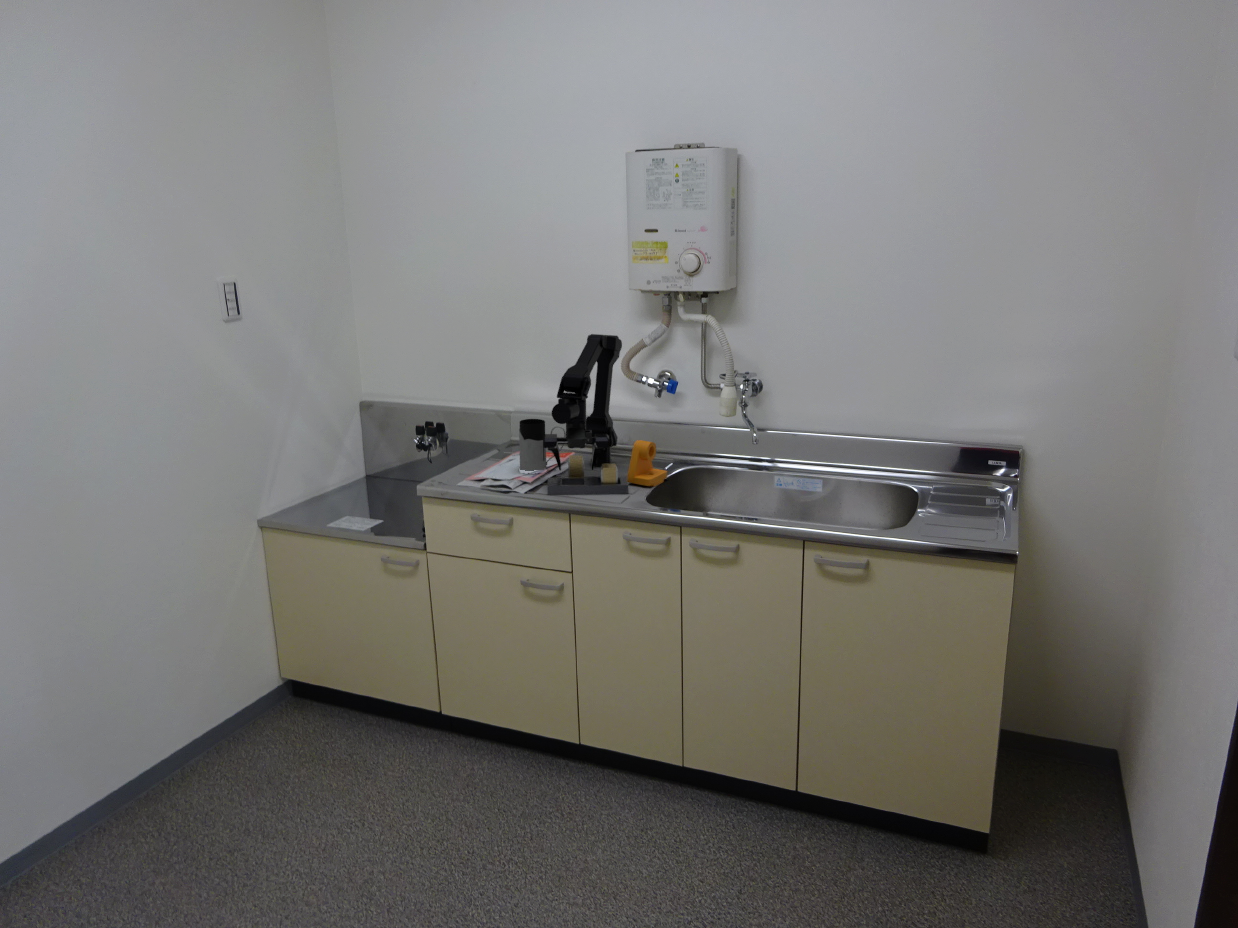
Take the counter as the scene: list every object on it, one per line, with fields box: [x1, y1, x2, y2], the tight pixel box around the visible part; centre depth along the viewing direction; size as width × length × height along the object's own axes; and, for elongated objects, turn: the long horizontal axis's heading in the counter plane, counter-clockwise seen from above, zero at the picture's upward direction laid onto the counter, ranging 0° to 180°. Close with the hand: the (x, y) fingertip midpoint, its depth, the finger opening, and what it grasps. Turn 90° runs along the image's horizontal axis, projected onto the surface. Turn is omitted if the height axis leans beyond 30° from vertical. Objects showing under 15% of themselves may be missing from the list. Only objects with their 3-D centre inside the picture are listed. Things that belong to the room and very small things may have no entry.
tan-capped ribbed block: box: [600, 463, 619, 485], centre depth 242 cm, size 4×4×7 cm
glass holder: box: [518, 418, 566, 471], centre depth 259 cm, size 9×14×15 cm, turn 87°
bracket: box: [626, 439, 668, 487], centre depth 249 cm, size 11×7×12 cm, turn 148°
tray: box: [546, 476, 629, 496], centre depth 242 cm, size 8×22×2 cm, turn 93°
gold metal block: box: [567, 454, 585, 478], centre depth 250 cm, size 4×4×7 cm
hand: (576, 469), depth 250 cm, fingers open, 9 cm apart
